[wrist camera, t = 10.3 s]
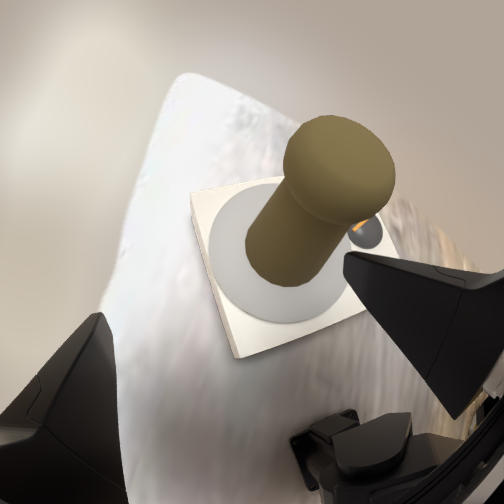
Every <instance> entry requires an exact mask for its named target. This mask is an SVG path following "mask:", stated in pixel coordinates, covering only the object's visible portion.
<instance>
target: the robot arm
mask: <svg viewBox="0 0 504 504" xmlns="http://www.w3.org/2000/svg"><path fill="white" fill-rule="evenodd" d="M343 276H344V278H345V280H346V281H347V282H348V284H349V285H350V287H351V288H352V290H353V291H354V292H355V294H356V295H357V297H358V298H359V300H360V301H361V302H362V304H363V305H364V306H365V308H366V309H367V310H368V311H369V312H370V314H371V315H372V316H373V317H374V318H375V319H376V321H377V322H378V323H379V324H380V325H381V327H382V328H383V329H384V330H385V331H386V333H387V334H388V335H389V336H390V338H391V339H392V340H393V341H394V342H395V344H396V345H397V346H398V347H399V349H400V350H401V351H402V352H403V354H404V355H405V356H406V357H407V359H408V360H409V361H410V362H411V364H412V365H413V366H414V368H415V369H416V370H417V371H418V373H419V374H420V375H421V377H422V378H423V379H424V380H425V382H426V383H427V385H428V386H429V387H430V389H431V390H432V391H433V393H434V394H435V395H436V397H437V398H438V399H439V401H440V402H441V403H442V405H443V406H444V407H445V409H446V410H447V412H448V413H449V414H450V416H451V417H452V418H453V419H454V420H456V419H457V418H458V417H459V416H460V415H461V414H462V413H463V412H464V411H465V410H466V409H467V408H468V406H469V405H470V404H471V403H472V402H473V401H474V400H475V399H476V398H477V397H478V396H479V394H480V393H481V392H482V391H483V390H484V391H485V392H486V393H487V394H488V395H489V396H488V397H487V398H486V400H485V401H484V402H483V403H482V405H481V406H480V407H479V408H478V410H477V411H476V429H475V430H474V431H473V432H472V433H471V434H470V435H469V437H468V438H467V439H466V440H465V441H462V440H457V439H452V438H447V437H443V436H439V435H435V434H431V433H423V434H419V435H414V436H413V432H412V418H411V413H410V412H406V413H388V414H385V415H383V416H380V417H378V418H376V419H374V420H371V421H369V422H367V423H364V424H362V425H361V424H360V422H359V418H358V415H357V412H356V411H355V410H353V409H349V410H347V411H345V412H343V413H341V414H339V415H337V414H334V415H332V416H330V417H328V418H326V419H324V420H322V421H320V422H318V423H316V424H314V425H311V426H310V428H309V429H308V430H306V431H304V432H301V433H299V434H297V435H294V436H292V437H291V438H290V439H289V444H290V447H291V449H292V452H293V455H294V457H295V460H296V462H297V465H298V467H299V470H300V472H301V475H302V477H303V480H304V482H305V485H306V487H307V489H308V490H309V491H315V490H318V489H320V495H321V503H322V504H504V269H503V270H502V271H499V272H497V273H494V274H483V273H477V272H470V271H463V270H457V269H451V268H445V267H440V266H435V265H429V264H424V263H419V262H414V261H408V260H403V259H398V258H392V257H387V256H381V255H376V254H370V253H365V252H359V251H351V252H347V253H345V255H344V261H343ZM351 412H352V416H349V415H350V413H351ZM295 439H297V442H296V443H293V441H294V440H295ZM312 485H315V486H314V487H312V488H311V486H312ZM0 504H129V502H128V497H127V492H126V487H125V481H124V474H123V467H122V459H121V451H120V441H119V428H118V412H117V377H116V365H115V356H114V345H113V335H112V332H111V329H110V327H109V325H108V323H107V320H106V318H105V316H104V314H103V313H102V312H98V313H93V314H91V315H90V316H89V317H88V318H87V319H86V320H85V321H84V322H83V323H82V324H81V325H80V326H79V327H78V328H77V329H76V330H75V332H74V333H73V334H72V335H71V336H70V337H69V338H68V339H67V340H66V341H65V342H64V343H63V345H62V346H61V347H60V348H59V349H58V350H57V351H56V352H55V354H54V355H53V356H52V357H51V358H50V359H49V360H48V361H47V362H46V364H45V365H44V366H43V367H42V368H41V369H40V371H39V372H38V373H37V375H35V376H34V378H33V379H32V380H31V381H30V383H29V384H28V385H27V386H26V387H25V388H24V389H23V391H22V392H21V393H20V394H19V395H18V396H17V397H16V398H15V399H14V400H13V401H12V403H11V404H10V405H9V406H8V407H7V408H6V409H5V410H4V411H3V412H2V413H1V414H0Z"/></svg>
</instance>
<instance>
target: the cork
mask: <svg viewBox="0 0 504 504" xmlns="http://www.w3.org/2000/svg"><path fill="white" fill-rule="evenodd" d="M283 171H284V179H283V180H282V182H281V183H280V184H279V186H278V187H277V189H276V190H275V192H274V193H273V194H272V196H271V197H270V199H269V200H268V202H267V203H266V204H265V206H264V207H263V209H262V210H261V212H260V213H259V214H258V216H257V217H256V219H255V220H254V222H253V223H252V224H251V226H250V227H249V229H248V231H247V235H246V238H245V251H246V255H247V258H248V260H249V263H250V265H251V267H252V268H253V269H254V270H255V271H256V272H257V274H258V275H259V276H260V277H262V278H263V279H265V280H266V281H268V282H270V283H271V284H274V285H278V286H282V287H298V286H300V285H303V284H305V283H308V282H309V281H311V280H312V279H313V278H314V277H315V276H316V275H317V274H318V273H319V271H320V270H321V269H322V267H323V266H324V264H325V263H326V262H327V260H328V259H329V257H330V256H331V255H332V253H333V252H334V250H335V249H336V247H337V246H338V245H339V243H340V242H341V240H342V239H343V237H344V236H345V234H346V233H347V231H348V230H349V228H350V227H351V225H354V224H357V223H359V222H362V221H365V220H367V219H370V218H372V217H373V216H374V215H375V214H377V213H378V212H379V211H380V210H381V209H382V208H383V207H384V206H385V205H386V204H387V203H388V201H389V199H390V197H391V195H392V192H393V189H394V185H395V167H394V162H393V160H392V157H391V155H390V153H389V151H388V150H387V148H386V147H385V146H384V144H383V143H382V142H381V140H380V139H379V138H377V136H375V135H374V134H373V133H372V132H371V131H370V130H368V129H367V128H365V127H364V126H362V125H361V124H359V123H357V122H354V121H352V120H349V119H347V118H344V117H339V116H334V115H329V116H328V115H327V116H319V117H317V118H315V119H312V120H310V121H308V122H306V123H303V124H302V125H301V126H300V128H299V129H298V130H297V131H296V132H295V133H294V135H293V136H292V137H291V138H290V139H289V142H288V145H287V147H286V151H285V155H284V159H283Z"/></svg>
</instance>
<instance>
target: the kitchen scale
mask: <svg viewBox="0 0 504 504" xmlns="http://www.w3.org/2000/svg"><path fill="white" fill-rule="evenodd" d="M283 179H284V176H277V177H271V178H265V179H260V180H254V181H249V182H243V183H238V184H233V185H228V186H223V187H218V188H213V189H208V190H204V191H199V192H194V193H190V204H191V218H192V221H193V225H194V229H195V232H196V236H197V240H198V243H199V247H200V250H201V254H202V257H203V261H204V264H205V267H206V271H207V274H208V277H209V281H210V284H211V287H212V291H213V294H214V297H215V300H216V303H217V307H218V310H219V313H220V316H221V319H222V322H223V325H224V328H225V331H226V334H227V337H228V340H229V343H230V346H231V349H232V352H233V355H234V358H243V357H246V356H249V355H252V354H255V353H258V352H261V351H264V350H267V349H270V348H273V347H276V346H278V345H281V344H284V343H286V342H289V341H292V340H294V339H297V338H300V337H302V336H305V335H307V334H310V333H312V332H315V331H317V330H320V329H322V328H325V327H327V326H329V325H332V324H334V323H336V322H339V321H341V320H343V319H346V318H348V317H350V316H352V315H355V314H357V313H359V312H361V311H363V310H366V308H365V306H364V305H363V304H362V302H361V301H360V300H359V298H358V297H357V295H356V294H355V292H354V291H353V290H352V288H351V287H350V285H349V284H348V282H347V281H346V280H345V278H344V276H343V261H344V255H345V253H347V252H351V251H359V252H365V253H370V254H376V255H381V256H387V257H392V258H398V259H400V258H399V256H398V254H397V252H396V249H395V247H394V245H393V243H392V241H391V238H390V236H389V234H388V232H387V230H386V228H385V226H384V224H383V222H382V220H381V218H380V216H379V214H378V213H377V214H375V215H374V216H373V217H372V218H370V219H367V220H365V221H362V222H359V223H357V224H354V225H351V227H350V228H349V230H348V231H347V233H346V234H345V236H344V237H343V239H342V240H341V242H340V243H339V245H338V246H337V247H336V249H335V250H334V252H333V253H332V255H331V256H330V257H329V259H328V260H327V262H326V263H325V264H324V266H323V267H322V269H321V270H320V271H319V273H318V274H317V275H316V276H315V277H314V278H313V279H312V280H311V281H309V282H308V283H305V284H303V285H300V286H298V287H282V286H278V285H274V284H271V283H270V282H268V281H266V280H265V279H263V278H262V277H260V276H259V275H258V274H257V272H256V271H255V270H254V269H253V268H252V267H251V265H250V263H249V260H248V258H247V255H246V251H245V238H246V235H247V231H248V229H249V227H250V226H251V224H252V223H253V222H254V220H255V219H256V217H257V216H258V214H259V213H260V212H261V210H262V209H263V207H264V206H265V204H266V203H267V202H268V200H269V199H270V197H271V196H272V194H273V193H274V192H275V190H276V189H277V187H278V186H279V184H280V183H281V182H282V180H283Z"/></svg>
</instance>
